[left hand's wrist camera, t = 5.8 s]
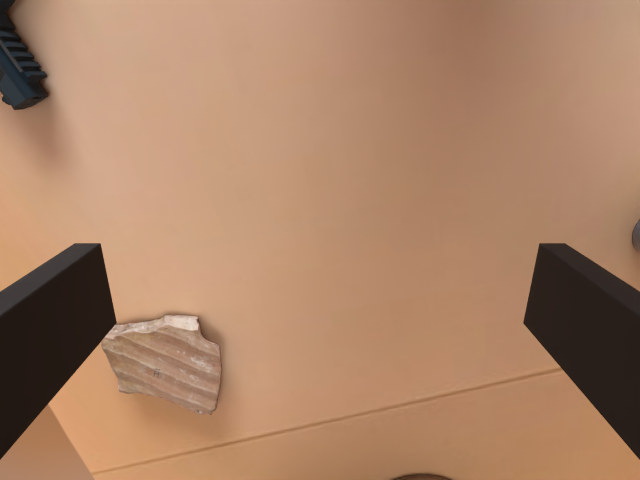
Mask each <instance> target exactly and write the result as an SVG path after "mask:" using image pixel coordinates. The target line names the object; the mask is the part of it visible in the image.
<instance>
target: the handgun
mask: <svg viewBox="0 0 640 480" xmlns="http://www.w3.org/2000/svg"><path fill="white" fill-rule="evenodd" d="M14 2H15V0H0V91H1V93H2V94H3V98H2V101H3V102H5V103H6V104H8V105H11V106H12V107H13V109H14V110H19V109H25V108H28V107H31V106H33V105H35V104H37V103H38V102H40V101H41V100H43V99H45V98H46V97H48V96H47V94H46V93H45V91H44V90H43V89H42V87H41V86H40V85H39V83H38V82H39V81H40V80H41V79H43V78H46V77H47V75H46V74H45V72H42V71H41V70H40V69H39V68H41V67H40V65H39V64H38V62H34V60H33V59H34V57H33V55H32V54H31V53H28V52H27V50H26V49H27V47H26V46H25V44H24V43H21V42H20V41H19V40H20V37H19V36H18V34H16V33H14V32H13V31H12V30H14V29H15V27H14V26H13V24H12V23H11V21H10V20H9V18H8V17H7V15H6V14H5V13H6V11H7V10H8V9H9V8H10V7H11V5H12V4H13V3H14Z"/></svg>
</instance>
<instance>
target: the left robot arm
mask: <svg viewBox="0 0 640 480" xmlns="http://www.w3.org/2000/svg"><path fill="white" fill-rule="evenodd" d="M116 323H117V322H116V318H115V313H114V308H113V303H112V298H111V293H110V288H109V283H108V278H107V273H106V268H105V263H104V258H103V253H102V249H101V244H100V243H75V244H73V245H72V246H70V247H69V248H67V249H66V250H64V251H62V252H61V253H59V254H58V255H56V256H55V257H53V258H52V259H50V260H49V261H47V262H45V263H44V264H42V265H41V266H39V267H38V268H36V269H35V270H33V271H32V272H30V273H29V274H27V275H25V276H24V277H22V278H21V279H19V280H18V281H16V282H15V283H13V284H12V285H10V286H8V287H7V288H5V289H4V290H2V291H1V292H0V459H1V458H2V457H3V456H4V455H5V453H6V452H7V451H8V450H9V449H10V448H11V446H12V445H13V444H14V443H15V442H16V441H17V439H18V438H19V437H20V436H21V435H22V433H23V432H24V431H25V430H26V429H27V428H28V426H29V425H30V424H31V423H32V422H33V421H34V419H35V418H36V417H37V416H38V415H39V414H40V412H41V411H42V410H43V409H44V408H45V406H46V405H47V404H48V403H49V402H50V401H51V400H52V398H53V397H54V396H55V395H56V394H57V392H58V391H59V390H60V389H61V388H62V387H63V385H64V384H65V383H66V382H67V381H68V380H69V378H70V377H71V376H72V375H73V374H74V373H75V371H76V370H77V369H78V368H79V367H80V366H81V364H82V363H83V362H84V361H85V360H86V358H87V357H88V356H89V355H90V354H91V353H92V351H93V350H94V349H95V348H96V347H97V346H98V344H99V343H100V342H101V341H102V340H103V339H104V337H105V336H106V335H107V334H108V333H109V331H110V330H111V329H112V328H113V327H114V326H115V324H116ZM523 323H524V324H525V326H526V327H527V328H528V329H529V330H530V331H531V333H532V334H533V335H534V336H535V337H536V339H537V340H538V341H539V342H540V343H541V344H542V346H543V347H544V348H545V349H546V350H547V351H548V353H549V354H550V355H551V356H552V357H553V358H554V360H555V361H556V362H557V363H558V364H559V366H560V367H561V368H562V369H563V370H564V371H565V373H566V374H567V375H568V376H569V377H570V378H571V380H572V381H573V382H574V383H575V384H576V385H577V387H578V388H579V389H580V390H581V391H582V392H583V394H584V395H585V396H586V397H587V398H588V400H589V401H590V402H591V403H592V404H593V405H594V407H595V408H596V409H597V410H598V411H599V412H600V414H601V415H602V416H603V417H604V418H605V419H606V421H607V422H608V423H609V424H610V425H611V426H612V428H613V429H614V430H615V431H616V432H617V434H618V435H619V436H620V437H621V438H622V439H623V441H624V442H625V443H626V444H627V445H628V446H629V448H630V449H631V450H632V451H633V452H634V453H635V455H636V456H637V457H638V458H639V459H640V292H639V291H638V290H636V289H635V288H633V287H632V286H630V285H628V284H627V283H625V282H624V281H622V280H621V279H619V278H618V277H616V276H615V275H613V274H611V273H610V272H608V271H607V270H605V269H604V268H602V267H601V266H599V265H598V264H596V263H595V262H593V261H591V260H590V259H588V258H587V257H585V256H584V255H582V254H581V253H579V252H578V251H576V250H574V249H573V248H571V247H570V246H568V245H567V244H565V243H540V244H539V249H538V253H537V258H536V263H535V268H534V273H533V278H532V283H531V288H530V293H529V298H528V303H527V308H526V313H525V318H524V322H523ZM395 480H449V479H447V478H443V477H440V476H434V475H411V476H406V477H402V478H398V479H395Z"/></svg>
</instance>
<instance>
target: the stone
mask: <svg viewBox="0 0 640 480" xmlns="http://www.w3.org/2000/svg"><path fill="white" fill-rule="evenodd" d="M101 344H102V349H103V351H104V352H105V354H106V356H107V358H108V361H109V363H110V366H111V368H112V370H113V372H114V373H115V375H116V376H117V378H118V386H119V391H120V392H122V393H140V394H146V395H150V396H157V397H160V398H163V399H166V400H168V401H171V402H174V403H176V404H179V405H181V406H183V407H185V408H187V409H188V410H190V411H192V412H195V413H197V414H200V415H203V414H204V413H207V414H211V415H212V412H213V411H215V410H216V408H217V400H218V394H219V389H220V376H221V368H222V365H221V355H220V346H219V345H217V344H216V343H213V342H209V341H207V340H206V339H205V338H204V337H203V335H202V334H201V329H200V325H199V319H198V317H196V316H183V315H175V316H170V315H165V316H163V317H162V318H161V319H156V320H153V321H148V322H139V323H129V324H125V325H115V326H114V328H112V329H111V330H110V331H109V333H108V334H107V335H106V336H105V337H104V339H103V340H102V341H101Z"/></svg>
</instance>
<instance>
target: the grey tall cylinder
mask: <svg viewBox="0 0 640 480" xmlns="http://www.w3.org/2000/svg"><path fill="white" fill-rule="evenodd" d="M632 240H633V245H634V247H635V249H636V250H637V251H638V252H639V253H640V221H639V222H638V223H637V225H636V227H635V229H634V232H633V236H632Z"/></svg>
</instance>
